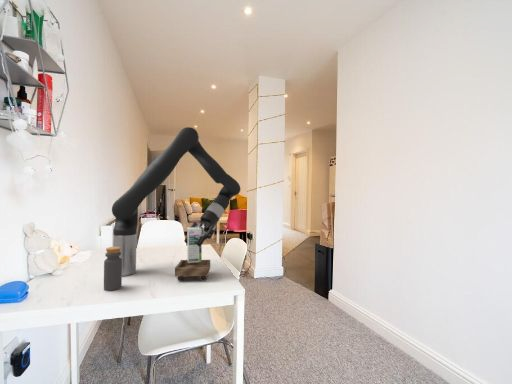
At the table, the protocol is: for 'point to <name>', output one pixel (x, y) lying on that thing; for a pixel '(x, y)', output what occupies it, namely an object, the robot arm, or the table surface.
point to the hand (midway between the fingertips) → (191, 243)
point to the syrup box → (194, 245)
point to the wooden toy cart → (192, 269)
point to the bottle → (112, 269)
